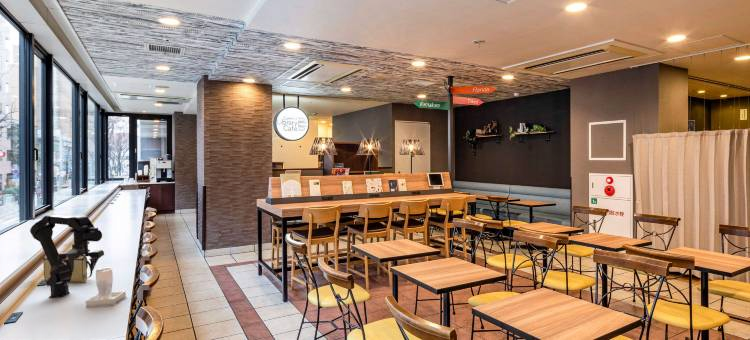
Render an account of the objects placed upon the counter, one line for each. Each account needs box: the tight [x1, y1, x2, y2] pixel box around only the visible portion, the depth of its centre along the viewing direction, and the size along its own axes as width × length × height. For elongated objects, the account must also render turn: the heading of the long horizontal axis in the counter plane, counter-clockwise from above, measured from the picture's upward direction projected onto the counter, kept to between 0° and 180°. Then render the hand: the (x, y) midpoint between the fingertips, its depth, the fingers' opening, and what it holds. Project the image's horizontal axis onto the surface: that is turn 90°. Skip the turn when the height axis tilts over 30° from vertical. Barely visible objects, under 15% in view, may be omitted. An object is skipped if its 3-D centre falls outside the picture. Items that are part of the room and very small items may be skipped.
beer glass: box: [95, 267, 114, 300], centre depth 197 cm, size 7×7×15 cm
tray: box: [85, 290, 127, 308], centre depth 198 cm, size 12×12×3 cm
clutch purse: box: [42, 255, 93, 283], centre depth 236 cm, size 30×7×15 cm, turn 81°
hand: (82, 271), depth 205 cm, fingers open, 9 cm apart
